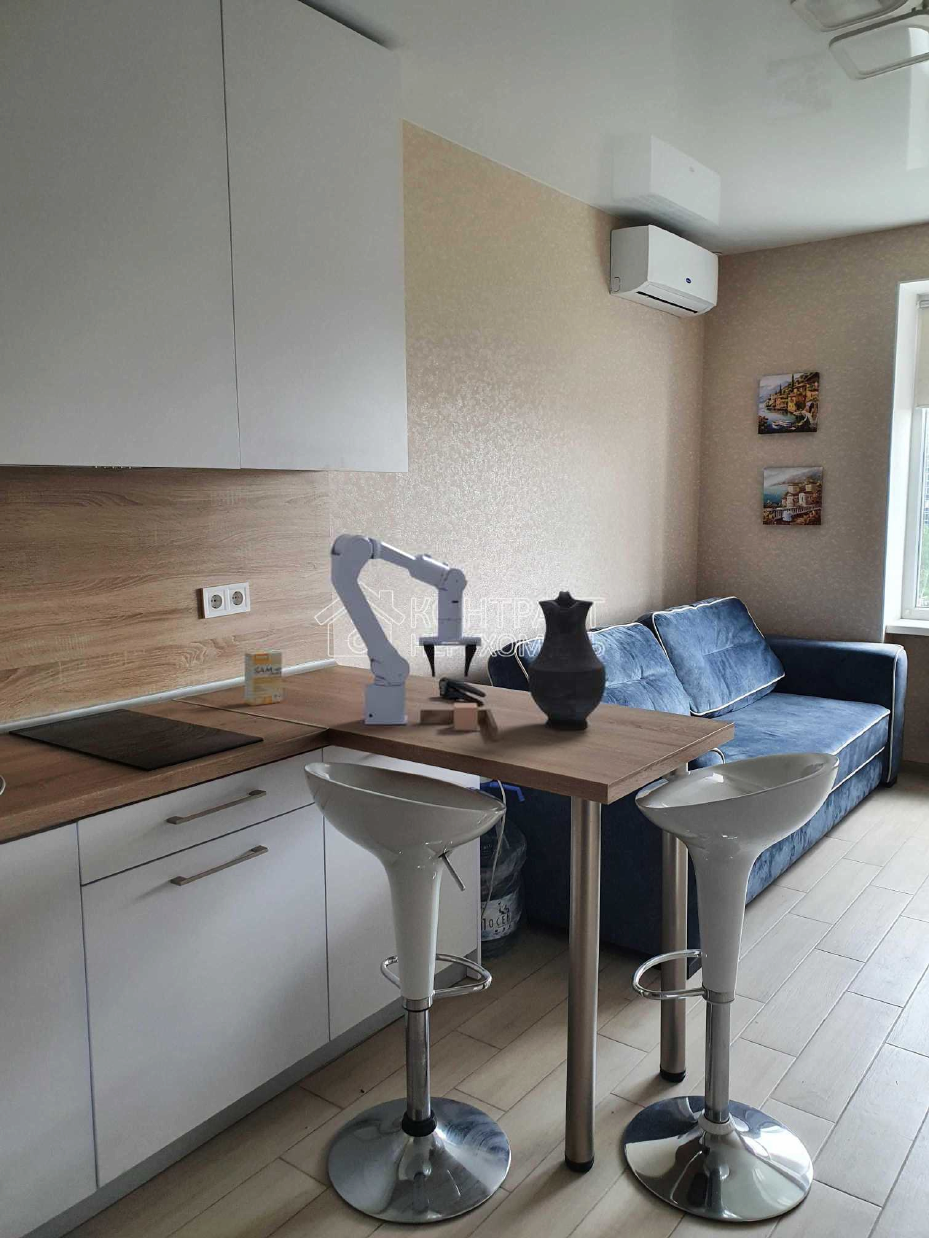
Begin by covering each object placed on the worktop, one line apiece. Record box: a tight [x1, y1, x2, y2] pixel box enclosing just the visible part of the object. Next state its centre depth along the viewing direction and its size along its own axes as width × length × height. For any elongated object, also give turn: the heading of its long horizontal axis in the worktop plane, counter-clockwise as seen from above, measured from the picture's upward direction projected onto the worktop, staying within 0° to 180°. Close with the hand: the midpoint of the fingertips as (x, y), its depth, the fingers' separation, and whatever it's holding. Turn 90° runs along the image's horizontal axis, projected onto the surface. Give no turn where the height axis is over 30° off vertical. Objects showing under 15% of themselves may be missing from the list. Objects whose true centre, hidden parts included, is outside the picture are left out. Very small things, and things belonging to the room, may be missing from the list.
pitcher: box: [527, 590, 607, 731], centre depth 209 cm, size 17×21×30 cm
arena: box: [419, 708, 499, 742], centre depth 203 cm, size 16×18×3 cm
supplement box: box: [244, 649, 283, 707], centre depth 232 cm, size 8×5×13 cm, turn 128°
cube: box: [453, 702, 479, 730], centre depth 206 cm, size 5×5×5 cm
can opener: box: [438, 676, 487, 707], centre depth 237 cm, size 18×7×6 cm, turn 36°
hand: (449, 676), depth 218 cm, fingers open, 7 cm apart
